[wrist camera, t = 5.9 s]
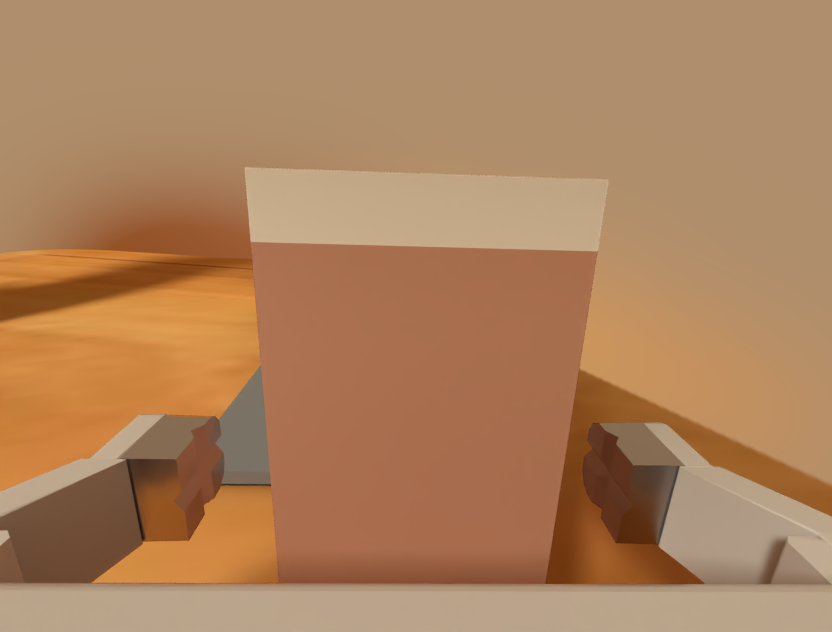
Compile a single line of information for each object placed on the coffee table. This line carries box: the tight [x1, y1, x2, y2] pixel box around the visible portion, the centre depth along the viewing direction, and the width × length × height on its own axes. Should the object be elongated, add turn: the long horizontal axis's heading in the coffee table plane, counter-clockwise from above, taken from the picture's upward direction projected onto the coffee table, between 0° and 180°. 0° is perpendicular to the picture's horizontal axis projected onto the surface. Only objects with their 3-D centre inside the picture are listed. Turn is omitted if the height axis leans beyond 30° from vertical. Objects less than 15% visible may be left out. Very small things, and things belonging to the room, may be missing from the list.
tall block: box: [245, 167, 609, 584], centre depth 10 cm, size 5×5×12 cm
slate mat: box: [215, 366, 271, 484], centre depth 25 cm, size 14×16×1 cm
